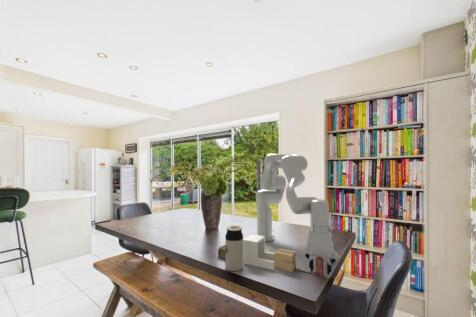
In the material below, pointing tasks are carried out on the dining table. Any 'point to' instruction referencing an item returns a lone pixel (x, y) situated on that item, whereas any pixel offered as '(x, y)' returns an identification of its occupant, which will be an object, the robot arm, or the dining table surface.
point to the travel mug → (234, 248)
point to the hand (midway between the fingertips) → (320, 271)
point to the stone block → (221, 252)
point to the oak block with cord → (288, 262)
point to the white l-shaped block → (257, 252)
